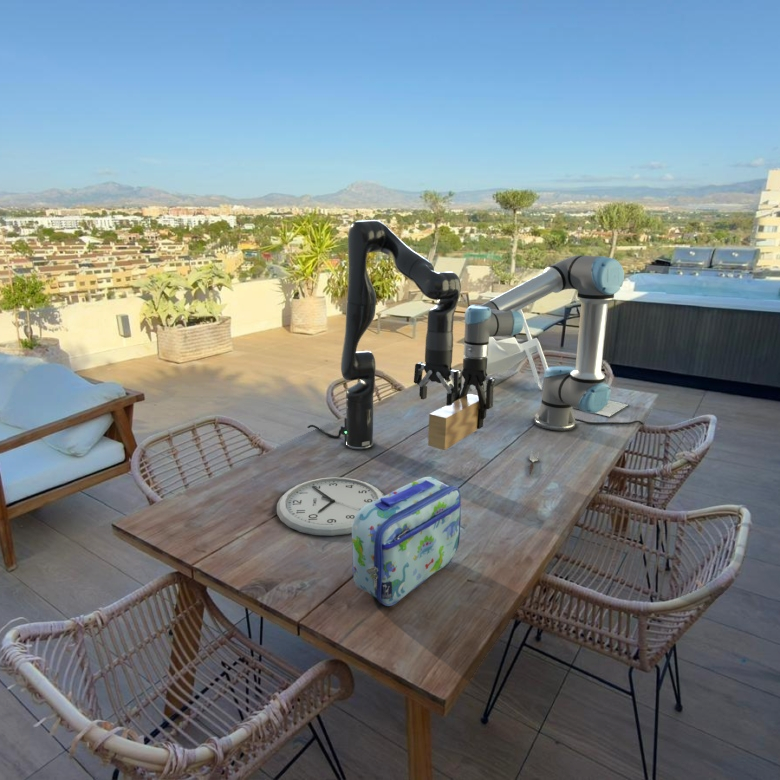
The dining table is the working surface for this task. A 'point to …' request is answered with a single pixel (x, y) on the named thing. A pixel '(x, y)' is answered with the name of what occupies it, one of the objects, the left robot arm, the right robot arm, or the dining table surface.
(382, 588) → the lunch box
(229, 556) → the dining table surface
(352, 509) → the wall clock
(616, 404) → the invitation card
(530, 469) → the fork
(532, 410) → the dining table surface
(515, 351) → the white plastic object
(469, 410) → the box
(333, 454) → the dining table surface
